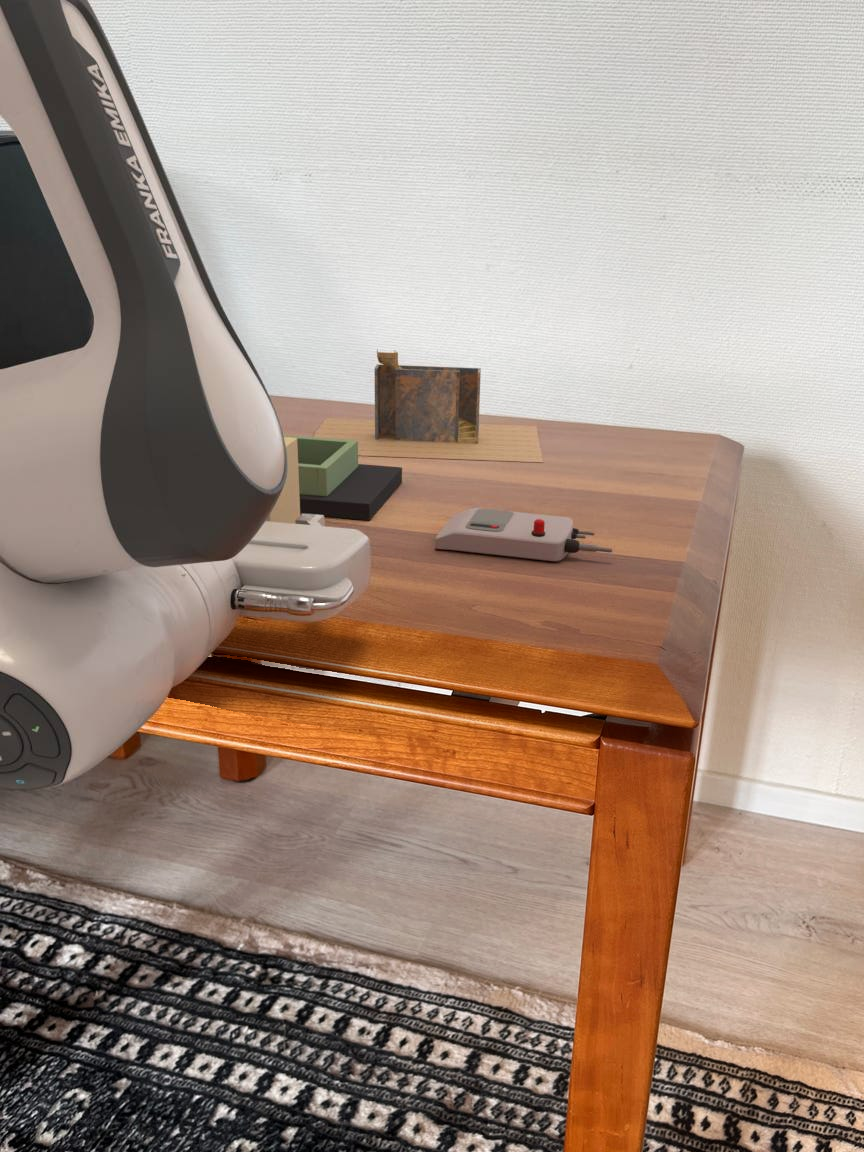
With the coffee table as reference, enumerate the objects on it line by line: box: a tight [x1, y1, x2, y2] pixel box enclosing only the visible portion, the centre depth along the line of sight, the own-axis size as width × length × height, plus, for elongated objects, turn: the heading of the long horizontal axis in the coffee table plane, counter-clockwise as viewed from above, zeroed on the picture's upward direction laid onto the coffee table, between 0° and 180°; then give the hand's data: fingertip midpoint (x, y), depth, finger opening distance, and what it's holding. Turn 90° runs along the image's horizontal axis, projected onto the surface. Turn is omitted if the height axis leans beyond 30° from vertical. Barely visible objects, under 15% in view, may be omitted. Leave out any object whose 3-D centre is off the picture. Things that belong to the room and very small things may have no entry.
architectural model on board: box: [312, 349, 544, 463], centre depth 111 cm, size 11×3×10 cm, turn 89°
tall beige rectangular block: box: [266, 437, 301, 524], centre depth 71 cm, size 4×6×10 cm, turn 171°
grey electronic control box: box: [434, 507, 613, 562], centre depth 82 cm, size 7×16×3 cm, turn 77°
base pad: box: [283, 434, 403, 521], centre depth 92 cm, size 16×12×4 cm
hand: (247, 518), depth 69 cm, fingers open, 8 cm apart
